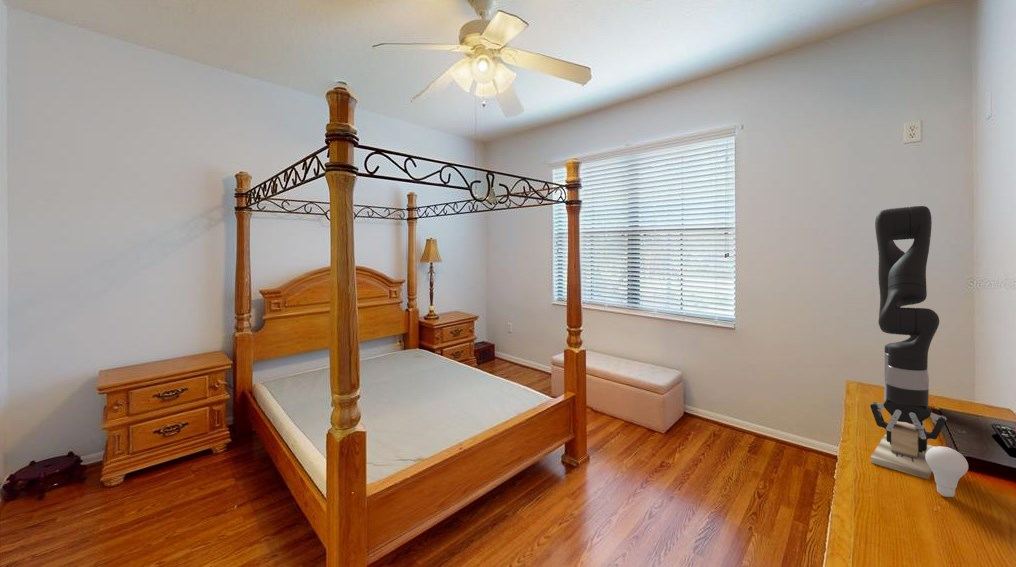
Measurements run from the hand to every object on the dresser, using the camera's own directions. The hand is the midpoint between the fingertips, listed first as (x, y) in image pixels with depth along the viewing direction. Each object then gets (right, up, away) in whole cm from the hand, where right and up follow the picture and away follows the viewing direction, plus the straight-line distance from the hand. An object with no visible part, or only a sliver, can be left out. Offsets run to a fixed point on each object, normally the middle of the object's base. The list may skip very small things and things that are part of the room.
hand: (906, 447), depth 98 cm
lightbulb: (-8, -4, -16) cm, 18 cm away
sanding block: (0, -1, 0) cm, 1 cm away
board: (-1, -2, -1) cm, 3 cm away
